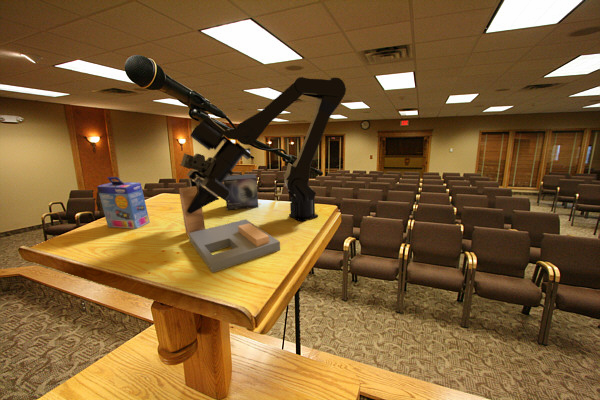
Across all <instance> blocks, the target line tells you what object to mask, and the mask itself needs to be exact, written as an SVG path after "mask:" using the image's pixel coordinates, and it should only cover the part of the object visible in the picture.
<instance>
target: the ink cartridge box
mask: <svg viewBox="0 0 600 400" xmlns="http://www.w3.org/2000/svg"><path fill="white" fill-rule="evenodd" d="M106 178H107V179H108V181H110V182H108V183H103V184H100V185H98V186H97V185H96V189H97V192H98V196H99V198H100V202H101V207H102V210H103V213H104V217H105V221H106V224H107V227H108V228H119V229H133V230H136V229H138V228H141V227H143V226H145V225H147V224H149V223H150V216H149V213H148V209H147V205H146V201H145V196H144V192H143V187H142V183H141V182H131V181H130V182H124V181H123V180H121V178H120V177H117V176H107V177H106Z"/></svg>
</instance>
